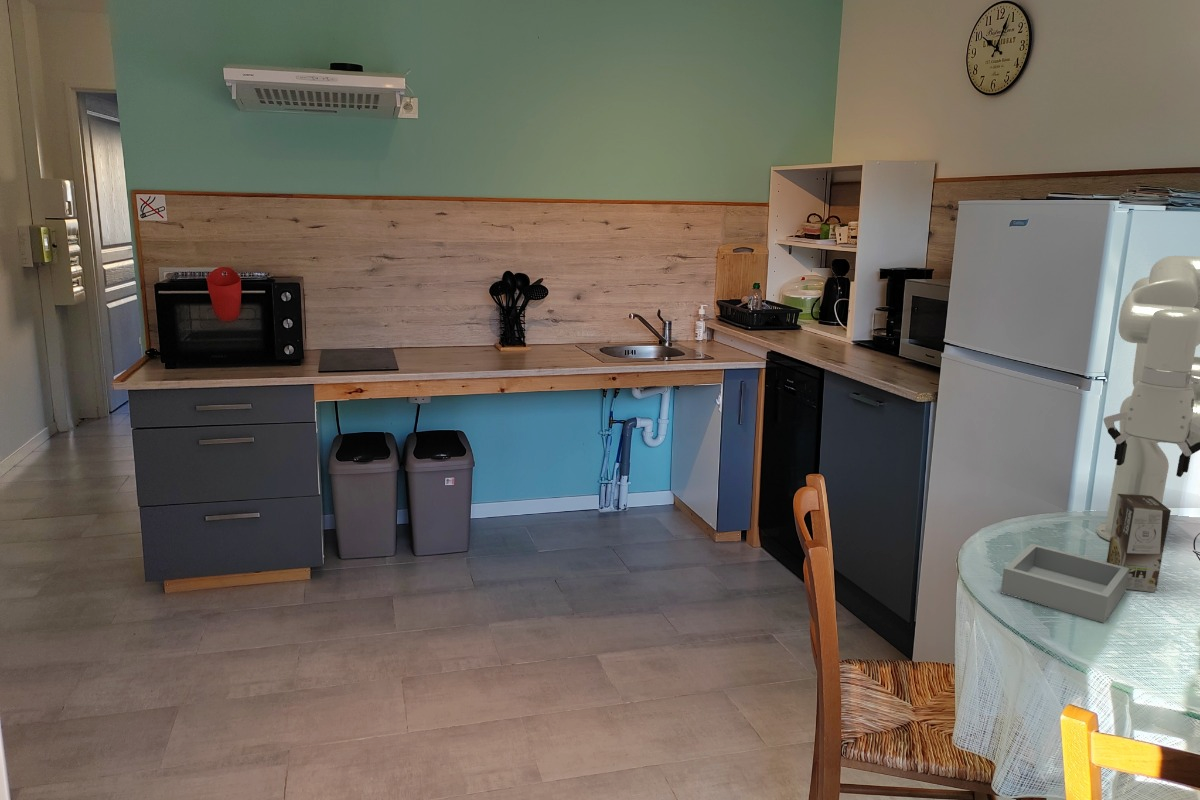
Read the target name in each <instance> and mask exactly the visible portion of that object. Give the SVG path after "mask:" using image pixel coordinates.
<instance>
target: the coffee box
mask: <svg viewBox="0 0 1200 800" xmlns="http://www.w3.org/2000/svg"><path fill="white" fill-rule="evenodd" d="M1171 512H1172V510H1171V509H1169V507H1167V506H1166V505H1164V504H1163V502H1162V503H1160V502H1159V501H1158V500H1156V499H1155V498H1154V497H1152V496H1147V495H1132V494H1129V495H1127V494H1117V499H1116V505H1115V511H1114V517H1113V524H1112V530H1111V537H1110V541H1109V544H1108V550H1107V557H1106V562H1107V563H1111V564H1115V565H1119V566H1123V567H1126V568H1130V569H1129V574H1128V580H1127V586H1126V590H1131V591H1139V592H1140V591H1141V592H1148V593H1156V592H1157V587H1158V581H1159V577H1160V570H1161V565H1162V559H1163V554H1164V549H1165V545H1166V539H1167V532H1168V528H1169V523H1170V517H1171Z"/></svg>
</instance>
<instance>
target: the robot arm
mask: <svg viewBox="0 0 1200 800" xmlns="http://www.w3.org/2000/svg"><path fill="white" fill-rule="evenodd" d="M1118 333H1119V336H1120V338H1121V339H1122V340H1123V341H1125V342H1127V343H1132V344H1136V349H1135V355H1134V356H1135V357H1134V365H1133V372H1132V385H1133V390H1132V392H1131V395H1129V396H1127V397H1126V398H1125V399H1124V400H1123V401H1122V403H1121V405H1120V408H1119V409H1120V410H1119V413H1116V414H1111V415H1108V416H1106V417H1104V418H1103V423H1104V425H1105V428H1106V430H1107V434H1108V435H1109V436H1110V437H1111V438H1112V439H1113V440H1114V443H1115V451H1114V456H1113V459H1114V460H1116V463H1115V469H1114V475H1113V479H1112V480H1113V481H1112V485H1111V486H1112V487H1111V492H1110V493H1111V494H1110V499H1109V505H1108V511H1107V516H1106V523H1101V524H1099V525H1098V526H1097V528H1096V533H1097V535H1098V536H1099V537H1100V538H1102V539H1104V540H1106V541H1108V542H1110V537H1111V530H1112V524H1113V517H1114V511H1115V505H1116V499H1117V494H1127V495H1129V494H1132V495H1147V496H1152V497H1154V498H1155V499H1156V500H1158V501H1159V502H1160V503H1162V504H1163V500H1164V496H1165V490H1166V484H1167V478H1168V473H1169V466H1170V465H1169V464H1170V463H1169V459H1168V458H1167V455H1166V453H1165V452H1164V451H1163V450H1162V448H1161V447H1160V446H1159V444H1158V443H1165V444H1166V443H1168V444H1175V445H1177V447H1178V448H1179V450H1181V454H1180V455H1179V457H1178V463H1177V469H1176V476H1177V478H1178V477H1179V478H1181V477H1182V476H1183V475H1184V473H1189V472H1188V471H1189V468H1190V462H1191V457H1192V455H1193V454H1195V453H1198V452H1199V451H1200V356H1195V353H1196V349H1197V347H1198V346H1199V345H1200V256H1193V255H1171V256H1166V257H1163V258H1161V259H1159V260H1157V261H1156V262H1155V263H1154V264H1153V265H1152V267H1151V268H1150V272H1149V276H1147V277H1143V278H1142V277H1141V278H1140V279H1138V280H1137V281H1136V282H1135V283H1134V284H1133V286H1132V288H1131V290H1130V292H1129V293H1128V294H1127V295H1126V296H1125V298H1124V300H1123V301H1122V304H1121V308H1120V312H1119V318H1118ZM1118 421H1119V430H1118V429H1117V428H1116V425H1115V422H1118Z"/></svg>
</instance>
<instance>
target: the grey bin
mask: <svg viewBox="0 0 1200 800" xmlns="http://www.w3.org/2000/svg"><path fill="white" fill-rule="evenodd" d="M1129 569H1130V568H1126V567H1123V566H1119V565H1115V564H1111V563H1107V561H1103V560H1098V559H1095V558H1090V557H1087V556H1083V555H1079V554H1075V553H1071V552H1067V551H1064V550H1063V551H1062V550H1059V549H1055V548H1052V547H1051V548H1050V547H1048V546H1044V545H1043V546H1042V545H1039V544H1035V543H1030V545H1028V546H1027V547H1026V548H1025V549H1024V550H1022V551H1021V552H1020V553H1019V554H1018V555H1017V556H1015V558H1014V559H1013V560H1012V561H1010V562H1009V563H1008V564H1007V565H1006V566H1005V567H1004V568H1003V574H1002V579H1001V588H1000V593H1001V592H1003V593H1005V594H1004V595H1006V594H1010V595H1013V596H1017V597H1020V598H1023V599H1026V600H1029V601H1028V602H1030V601H1032V602H1031V603H1033V602H1035V603H1034V604H1037V603H1038V605H1040V604H1041V605H1040V606H1044V607H1047V606H1048V607H1047V608H1051V609H1054V610H1058V611H1062V612H1064V613H1069V614H1072V615H1075V616H1078V617H1082V618H1086V619H1088V620H1092V621H1096V622H1099V623H1102V624H1104V623H1105V622H1106V621H1107V619H1108V618H1109V616H1111V613H1112V612H1113V611H1114V609H1115V608H1116V606H1117V605H1118V604H1119V602H1120V601H1121V599H1122V598H1123V596H1124V595H1125V594H1126V591H1127V589H1126V586H1127V580H1128V574H1129ZM1013 596H1012V597H1013ZM1020 598H1019V599H1020ZM1023 599H1022V600H1023ZM1026 600H1025V601H1026Z"/></svg>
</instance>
